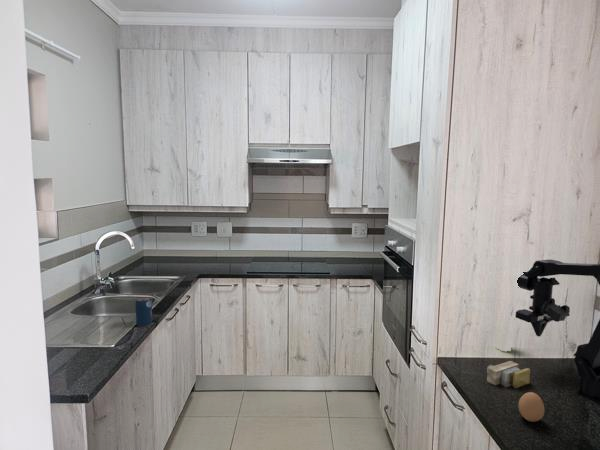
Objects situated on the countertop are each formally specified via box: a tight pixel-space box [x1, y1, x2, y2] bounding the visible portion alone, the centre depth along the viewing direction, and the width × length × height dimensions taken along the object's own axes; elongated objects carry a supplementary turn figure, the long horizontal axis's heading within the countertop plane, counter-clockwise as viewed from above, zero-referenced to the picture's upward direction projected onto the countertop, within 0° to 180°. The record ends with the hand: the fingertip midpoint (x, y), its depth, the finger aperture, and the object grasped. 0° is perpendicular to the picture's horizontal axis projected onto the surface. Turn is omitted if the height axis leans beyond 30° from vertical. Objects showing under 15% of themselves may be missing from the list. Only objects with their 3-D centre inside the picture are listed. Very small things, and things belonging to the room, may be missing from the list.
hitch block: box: [486, 360, 520, 386], centre depth 139 cm, size 3×12×5 cm, turn 118°
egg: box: [518, 391, 545, 423], centre depth 116 cm, size 6×6×8 cm
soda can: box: [134, 296, 153, 328], centre depth 183 cm, size 7×7×12 cm
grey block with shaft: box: [486, 364, 522, 388], centre depth 140 cm, size 9×7×5 cm
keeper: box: [512, 367, 531, 389], centre depth 135 cm, size 1×7×5 cm, turn 118°
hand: (538, 336), depth 147 cm, fingers closed
